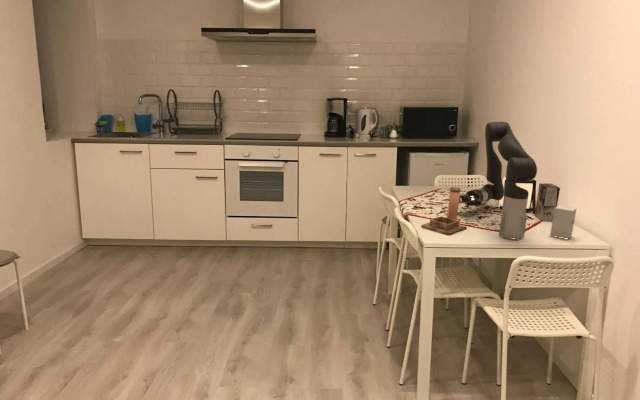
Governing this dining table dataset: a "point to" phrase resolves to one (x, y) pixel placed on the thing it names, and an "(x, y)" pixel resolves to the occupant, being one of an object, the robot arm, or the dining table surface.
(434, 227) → the walnut socket board
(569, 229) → the supplement box
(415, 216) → the dining table surface
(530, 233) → the dining table surface
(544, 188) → the coffee box
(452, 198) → the wooden peg
